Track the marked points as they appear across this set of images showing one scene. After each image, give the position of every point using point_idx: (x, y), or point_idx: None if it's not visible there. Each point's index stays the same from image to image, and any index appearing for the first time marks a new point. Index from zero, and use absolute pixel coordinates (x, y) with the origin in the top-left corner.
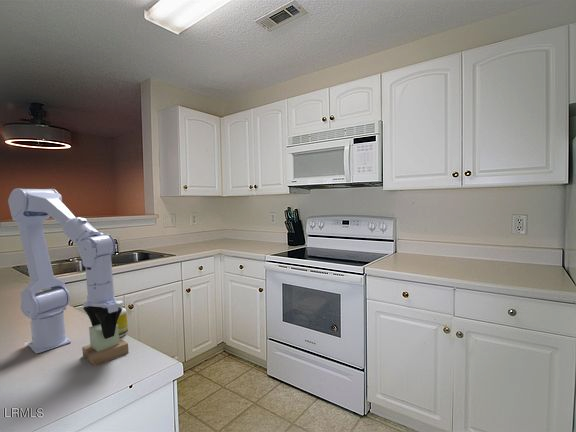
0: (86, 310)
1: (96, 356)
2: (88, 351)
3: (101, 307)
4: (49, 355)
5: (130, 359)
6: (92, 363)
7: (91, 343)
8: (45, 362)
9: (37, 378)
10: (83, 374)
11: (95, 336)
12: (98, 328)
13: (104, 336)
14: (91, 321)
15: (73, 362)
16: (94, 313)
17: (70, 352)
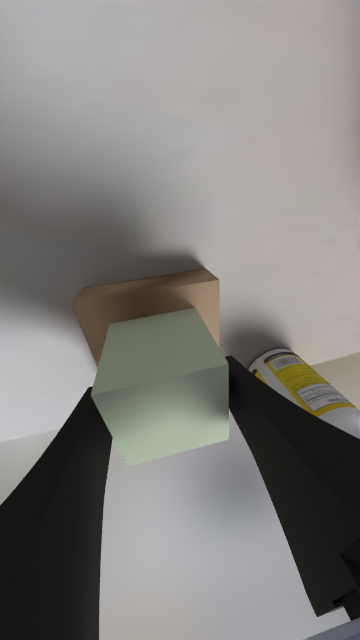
0: (353, 518)
1: (76, 312)
2: (146, 294)
3: (305, 546)
4: (339, 159)
5: (57, 378)
6: (101, 287)
7: (184, 318)
8: (286, 126)
9: (130, 40)
10: (28, 245)
11: (120, 363)
12: (157, 403)
13: (82, 396)
14: (264, 398)
15: (180, 231)
16: (290, 474)
17: (283, 237)
